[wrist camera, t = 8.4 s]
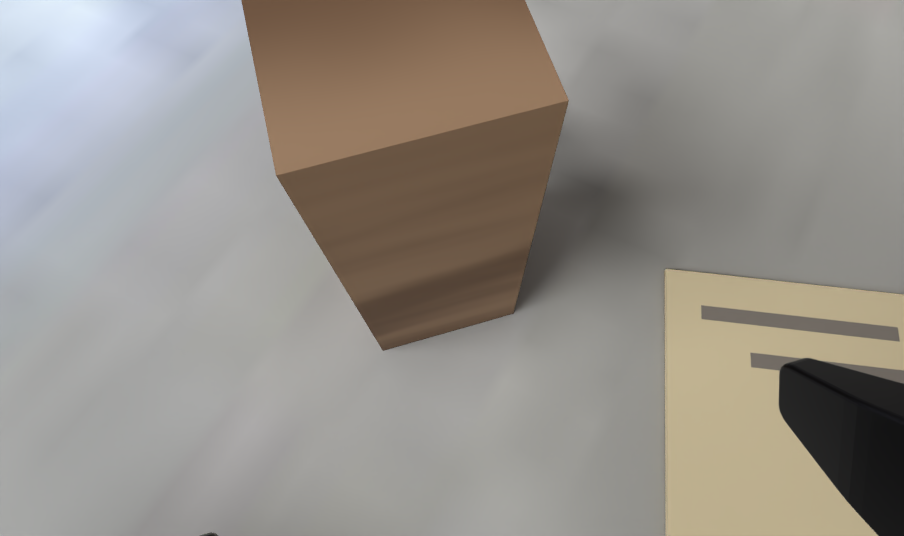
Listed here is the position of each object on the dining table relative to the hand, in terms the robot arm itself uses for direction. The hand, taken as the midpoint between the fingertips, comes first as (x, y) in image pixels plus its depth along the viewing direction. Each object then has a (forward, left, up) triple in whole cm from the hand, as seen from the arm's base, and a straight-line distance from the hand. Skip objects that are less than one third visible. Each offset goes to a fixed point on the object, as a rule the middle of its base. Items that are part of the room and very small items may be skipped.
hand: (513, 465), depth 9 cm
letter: (+2, -10, -10) cm, 15 cm away
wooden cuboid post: (+7, +3, -10) cm, 13 cm away
